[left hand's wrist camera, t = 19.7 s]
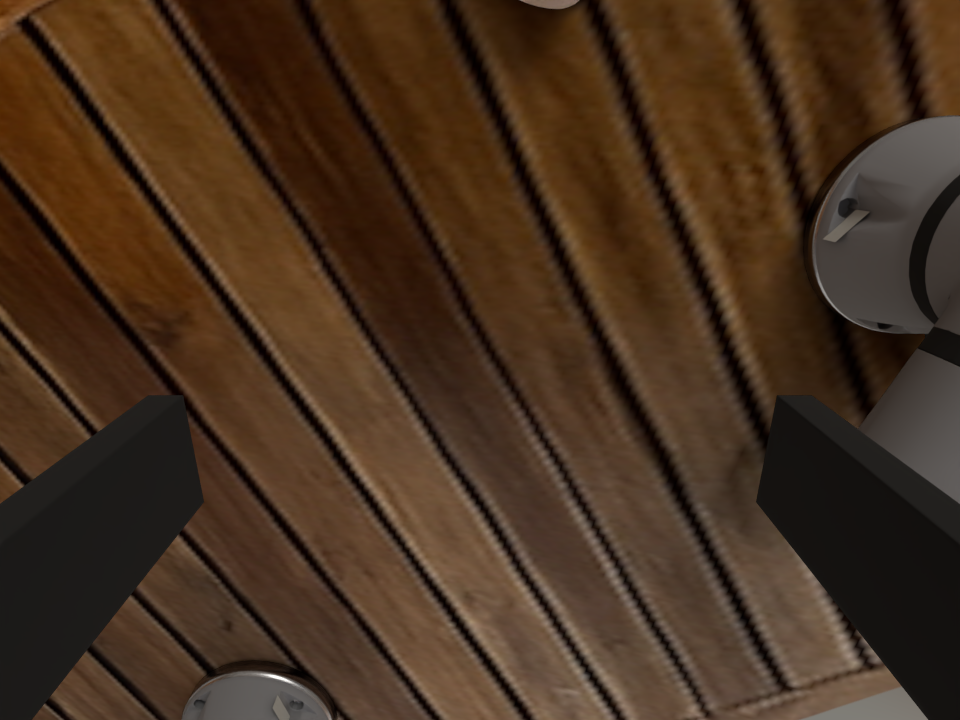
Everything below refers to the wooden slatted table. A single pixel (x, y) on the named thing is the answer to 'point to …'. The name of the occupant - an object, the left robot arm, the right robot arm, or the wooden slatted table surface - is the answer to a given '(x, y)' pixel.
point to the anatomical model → (551, 3)
